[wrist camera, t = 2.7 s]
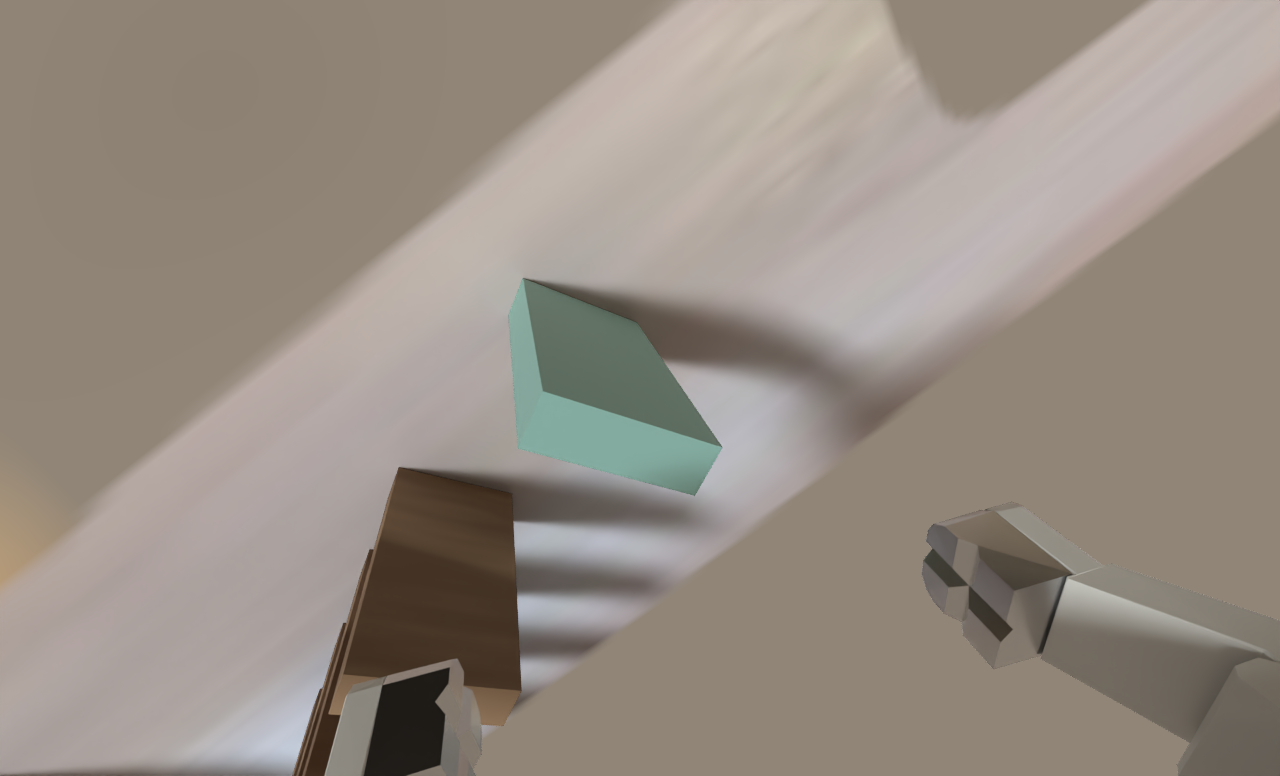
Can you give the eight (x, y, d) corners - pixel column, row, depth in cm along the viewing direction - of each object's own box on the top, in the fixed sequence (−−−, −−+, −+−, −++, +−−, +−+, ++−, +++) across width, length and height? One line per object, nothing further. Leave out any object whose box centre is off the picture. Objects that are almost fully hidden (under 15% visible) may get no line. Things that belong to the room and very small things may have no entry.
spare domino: (621, 355, 24) (694, 495, 15) (508, 315, 22) (517, 448, 13) (636, 322, 23) (722, 447, 14) (522, 278, 21) (543, 391, 13)
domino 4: (500, 520, 26) (503, 726, 17) (388, 497, 24) (328, 714, 15) (511, 493, 25) (521, 690, 17) (398, 467, 24) (343, 673, 15)
